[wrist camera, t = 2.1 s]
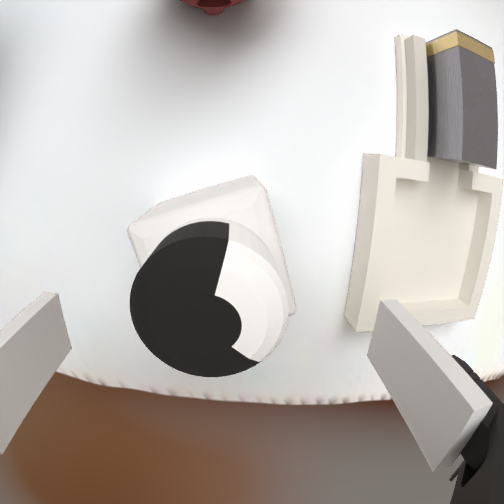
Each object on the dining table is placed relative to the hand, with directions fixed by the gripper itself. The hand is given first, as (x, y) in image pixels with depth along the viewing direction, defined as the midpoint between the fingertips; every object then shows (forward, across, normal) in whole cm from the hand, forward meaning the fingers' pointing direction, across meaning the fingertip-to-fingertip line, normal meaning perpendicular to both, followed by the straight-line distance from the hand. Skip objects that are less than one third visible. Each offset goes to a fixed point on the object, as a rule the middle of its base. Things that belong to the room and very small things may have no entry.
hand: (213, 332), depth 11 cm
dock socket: (+13, +18, +6) cm, 23 cm away
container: (+13, 0, 0) cm, 13 cm away
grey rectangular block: (+12, +18, +13) cm, 25 cm away
